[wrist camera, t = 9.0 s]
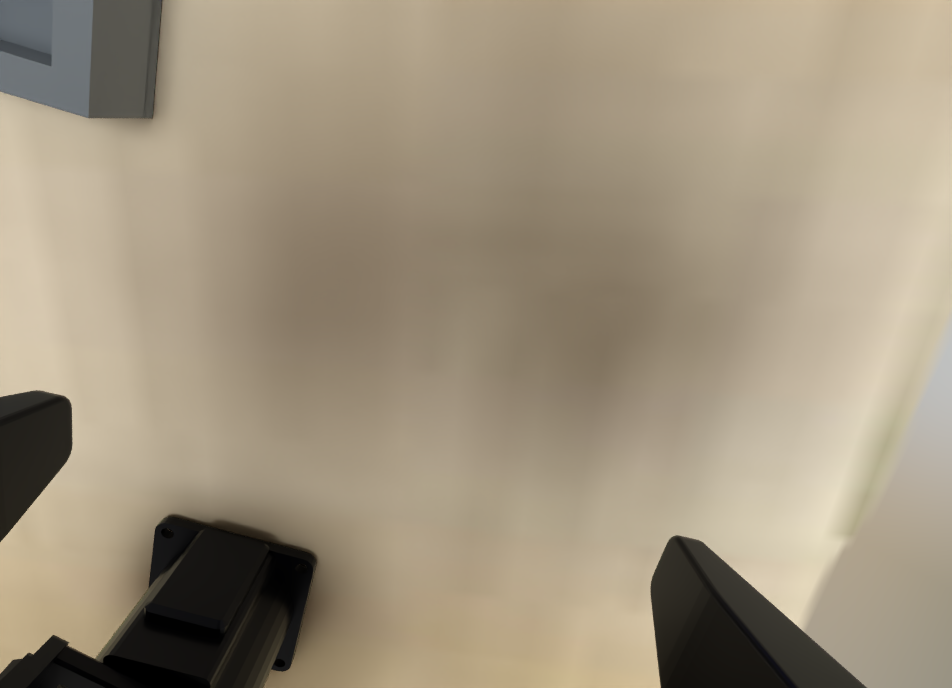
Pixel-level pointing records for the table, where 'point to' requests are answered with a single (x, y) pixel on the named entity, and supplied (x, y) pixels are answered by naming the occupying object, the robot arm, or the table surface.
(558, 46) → the table surface
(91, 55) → the tray
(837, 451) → the table surface
